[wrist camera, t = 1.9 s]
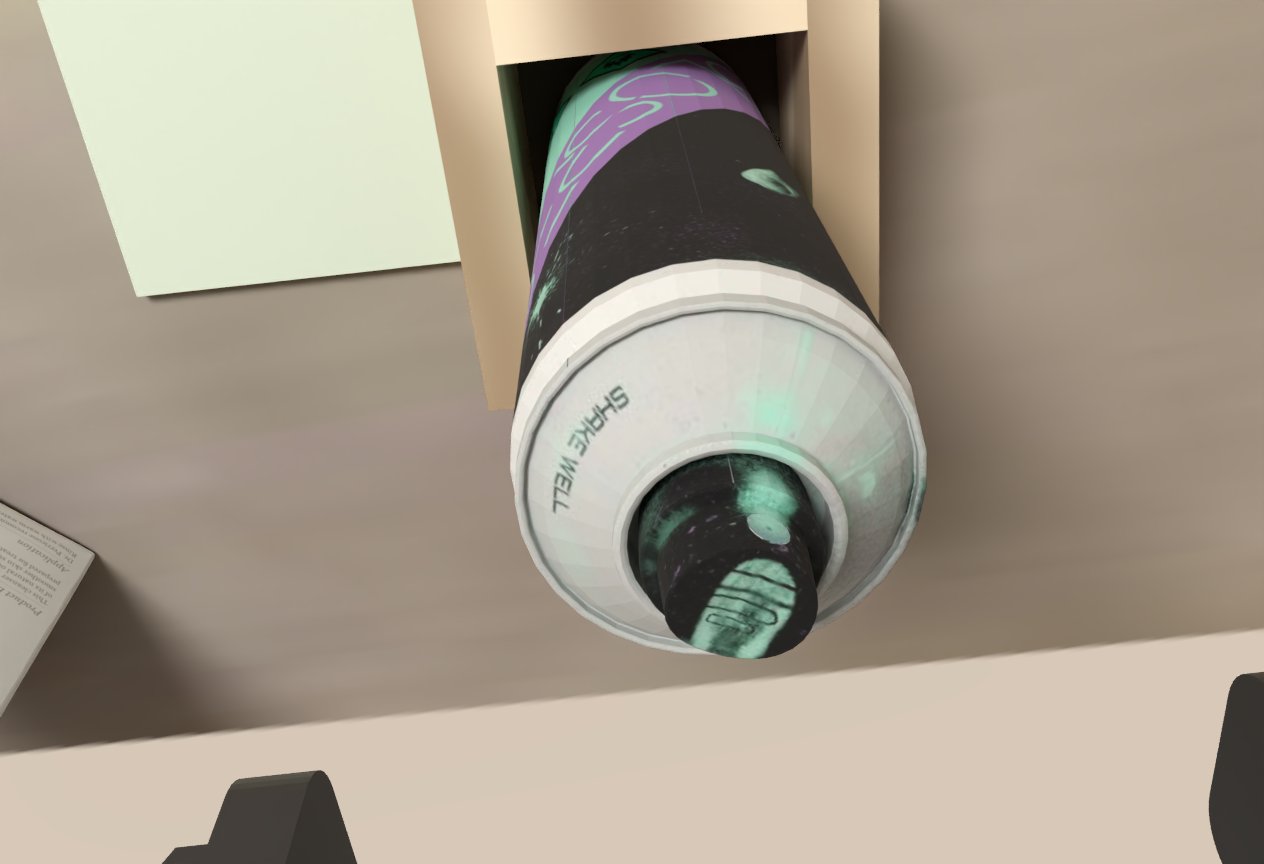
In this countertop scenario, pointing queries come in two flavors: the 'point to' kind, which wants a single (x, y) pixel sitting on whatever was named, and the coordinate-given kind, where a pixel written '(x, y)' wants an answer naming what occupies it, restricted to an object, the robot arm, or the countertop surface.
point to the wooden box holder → (620, 21)
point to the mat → (257, 136)
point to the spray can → (701, 376)
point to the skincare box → (32, 591)
